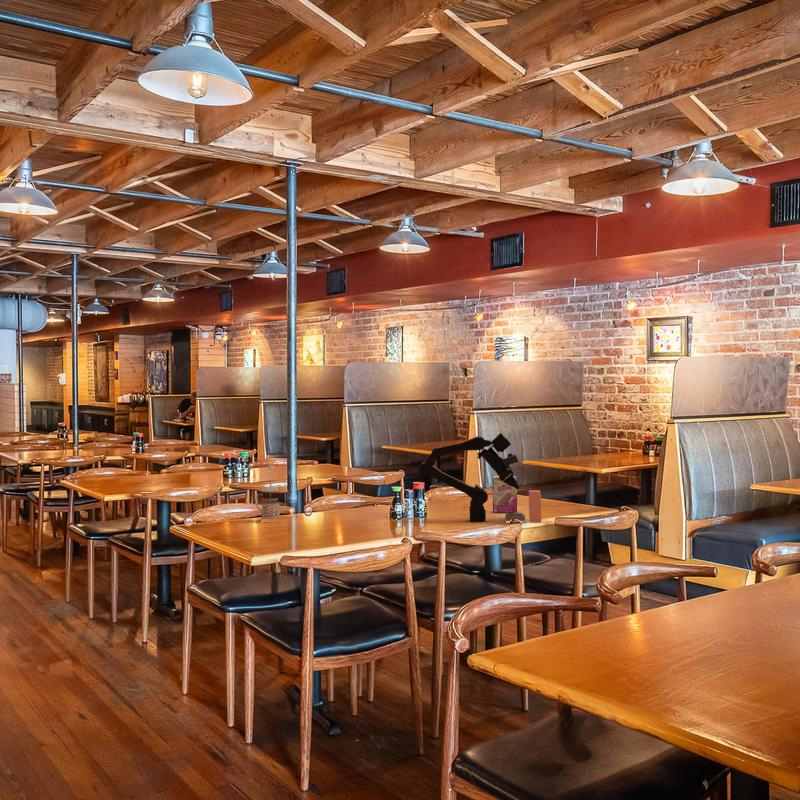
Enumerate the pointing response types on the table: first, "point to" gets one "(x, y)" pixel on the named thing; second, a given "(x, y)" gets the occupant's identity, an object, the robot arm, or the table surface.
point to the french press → (269, 503)
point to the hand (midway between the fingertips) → (518, 487)
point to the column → (534, 505)
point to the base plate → (515, 517)
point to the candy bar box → (504, 496)
